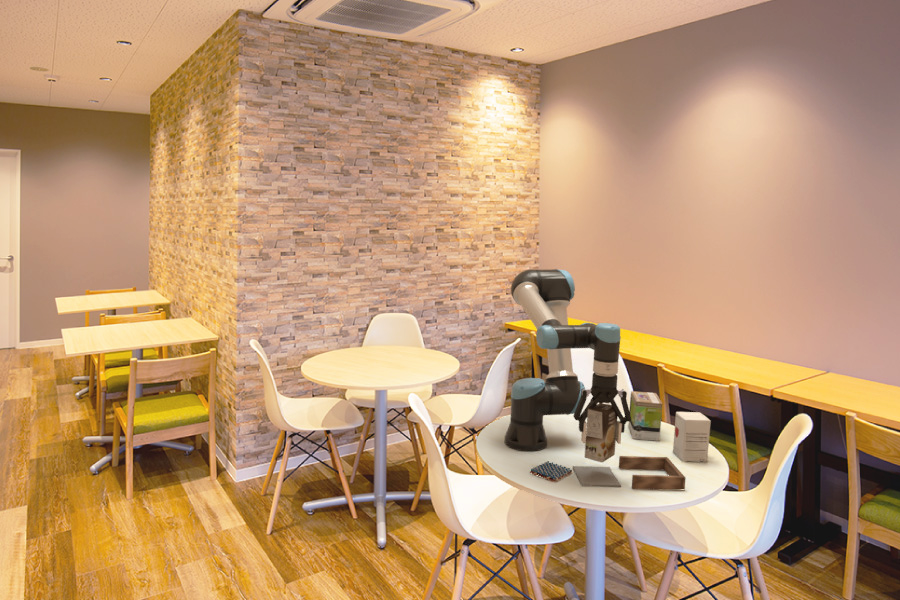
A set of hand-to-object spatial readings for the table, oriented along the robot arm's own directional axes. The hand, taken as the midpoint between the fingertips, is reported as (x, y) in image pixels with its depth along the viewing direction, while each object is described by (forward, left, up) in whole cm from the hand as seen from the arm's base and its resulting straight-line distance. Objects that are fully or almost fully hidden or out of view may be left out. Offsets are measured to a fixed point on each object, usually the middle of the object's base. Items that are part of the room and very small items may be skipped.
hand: (600, 441), depth 198 cm
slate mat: (-1, 0, -12) cm, 12 cm away
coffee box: (0, 0, -5) cm, 5 cm away
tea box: (+27, +42, -12) cm, 51 cm away
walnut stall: (+16, 0, -12) cm, 20 cm away
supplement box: (+36, +19, -12) cm, 42 cm away
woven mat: (-15, +2, -12) cm, 19 cm away
